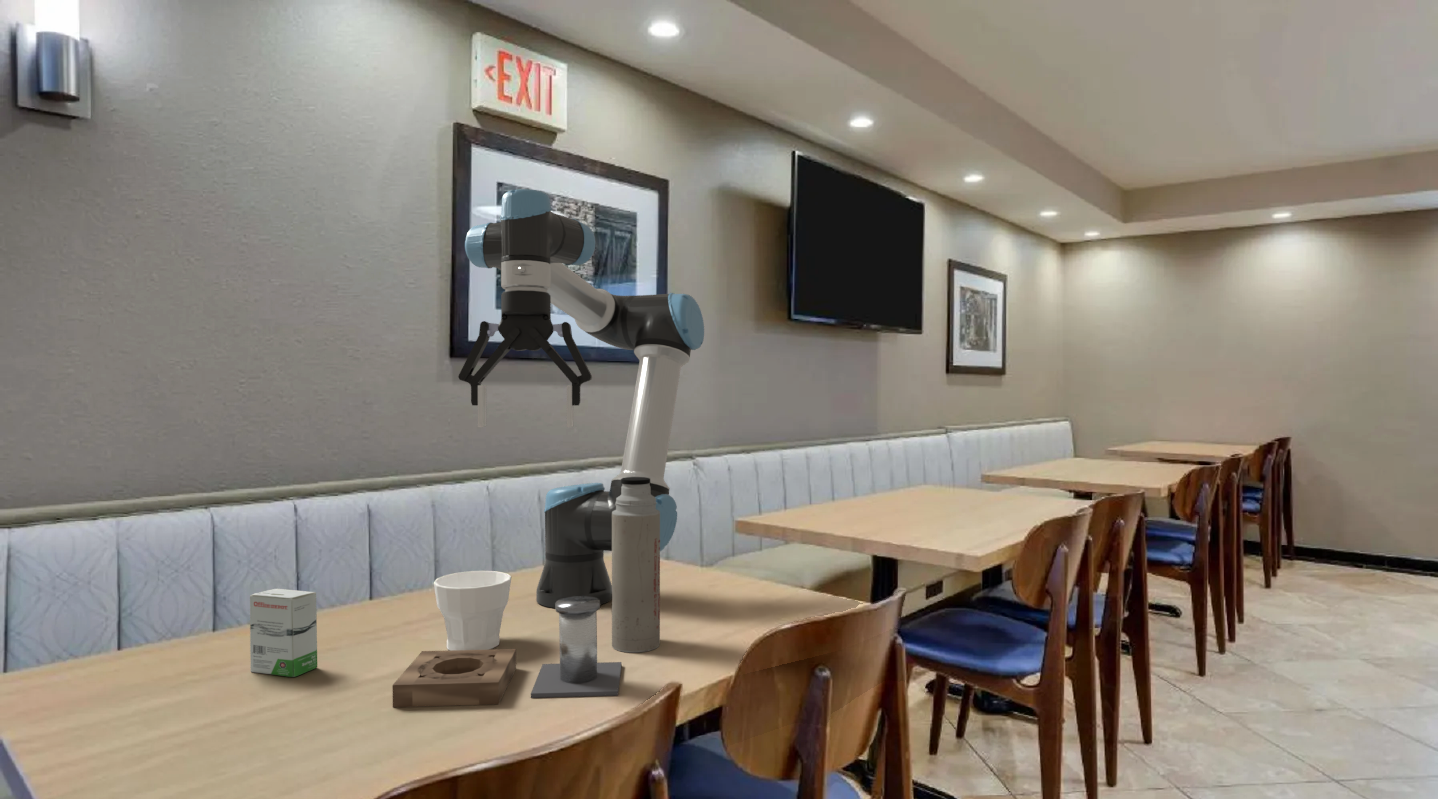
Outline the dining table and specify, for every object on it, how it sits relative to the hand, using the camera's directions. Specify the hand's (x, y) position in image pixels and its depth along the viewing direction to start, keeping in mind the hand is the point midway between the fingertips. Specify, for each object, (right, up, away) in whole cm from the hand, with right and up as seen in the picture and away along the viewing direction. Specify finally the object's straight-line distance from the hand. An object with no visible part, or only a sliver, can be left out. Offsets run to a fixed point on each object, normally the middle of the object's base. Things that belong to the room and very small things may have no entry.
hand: (526, 427), depth 128 cm
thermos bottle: (+16, -37, +8) cm, 41 cm away
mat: (+10, -37, -9) cm, 39 cm away
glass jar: (+10, -36, -9) cm, 39 cm away
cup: (-11, -37, +8) cm, 39 cm away
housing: (-7, -37, -11) cm, 39 cm away
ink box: (-36, -37, -4) cm, 52 cm away
